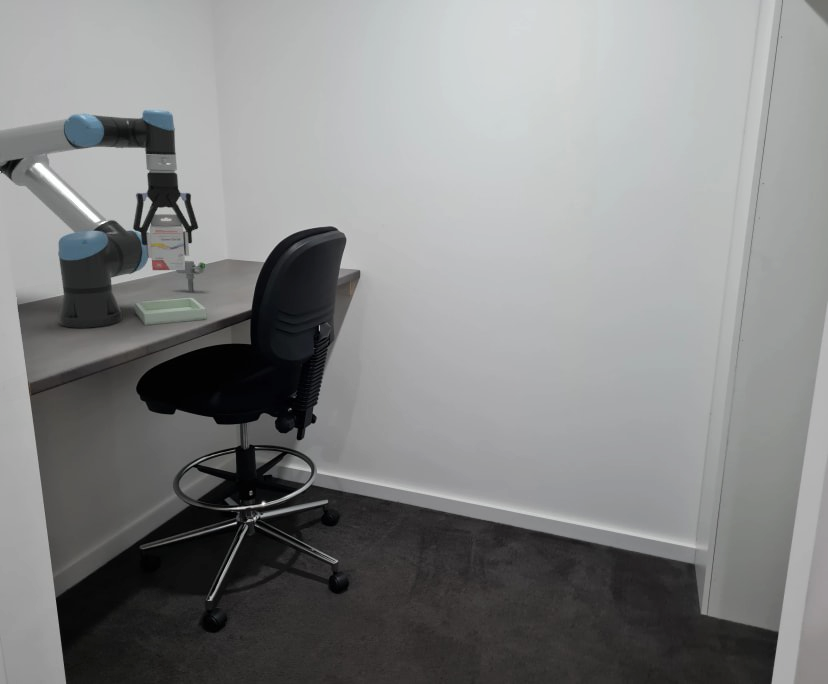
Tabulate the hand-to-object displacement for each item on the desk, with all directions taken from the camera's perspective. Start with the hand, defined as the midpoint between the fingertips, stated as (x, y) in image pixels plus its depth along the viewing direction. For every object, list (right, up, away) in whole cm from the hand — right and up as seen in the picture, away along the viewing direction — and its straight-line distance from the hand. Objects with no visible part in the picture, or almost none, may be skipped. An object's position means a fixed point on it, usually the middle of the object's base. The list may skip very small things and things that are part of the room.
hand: (168, 256), depth 184 cm
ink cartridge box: (0, -4, +1) cm, 4 cm away
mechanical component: (-6, -7, +37) cm, 38 cm away
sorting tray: (-1, -16, +4) cm, 17 cm away
